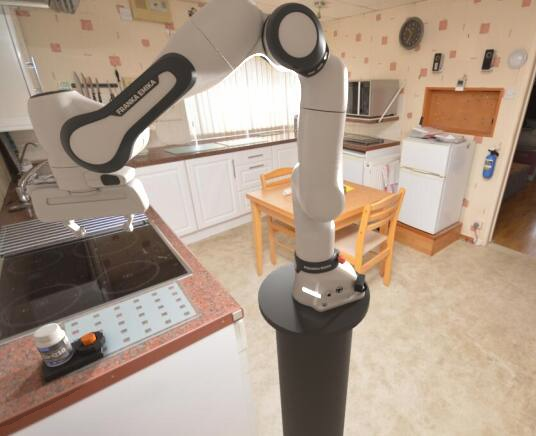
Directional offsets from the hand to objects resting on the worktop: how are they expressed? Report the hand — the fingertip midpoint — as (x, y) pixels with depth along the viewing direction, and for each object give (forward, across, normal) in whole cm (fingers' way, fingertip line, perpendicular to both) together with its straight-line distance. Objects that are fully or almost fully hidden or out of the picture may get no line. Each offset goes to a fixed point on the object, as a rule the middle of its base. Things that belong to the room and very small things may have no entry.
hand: (105, 233), depth 66 cm
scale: (+25, -10, -11) cm, 29 cm away
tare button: (+22, -7, -9) cm, 25 cm away
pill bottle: (+24, -12, -12) cm, 29 cm away
